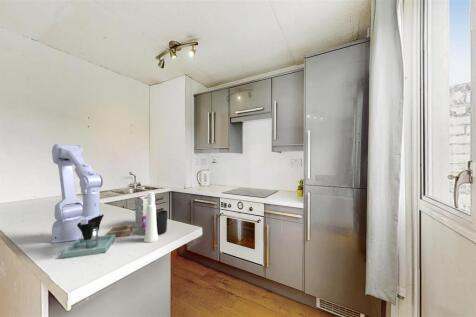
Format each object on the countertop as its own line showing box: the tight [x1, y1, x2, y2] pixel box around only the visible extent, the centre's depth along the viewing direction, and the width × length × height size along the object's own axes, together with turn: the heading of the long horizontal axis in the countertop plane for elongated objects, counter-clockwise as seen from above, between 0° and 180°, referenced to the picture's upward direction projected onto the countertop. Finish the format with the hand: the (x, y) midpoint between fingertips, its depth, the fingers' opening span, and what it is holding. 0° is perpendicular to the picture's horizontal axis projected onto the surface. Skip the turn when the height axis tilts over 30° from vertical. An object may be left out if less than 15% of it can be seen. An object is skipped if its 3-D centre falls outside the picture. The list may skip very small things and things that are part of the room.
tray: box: [61, 234, 117, 260], centre depth 80 cm, size 14×14×2 cm
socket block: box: [107, 224, 134, 238], centre depth 95 cm, size 9×9×2 cm
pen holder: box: [156, 209, 168, 236], centre depth 96 cm, size 9×9×10 cm
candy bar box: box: [134, 194, 148, 230], centre depth 107 cm, size 11×5×16 cm, turn 168°
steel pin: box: [86, 227, 99, 249], centre depth 80 cm, size 4×4×8 cm
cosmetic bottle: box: [143, 191, 159, 244], centre depth 87 cm, size 6×6×22 cm
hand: (91, 235), depth 80 cm, fingers open, 7 cm apart
